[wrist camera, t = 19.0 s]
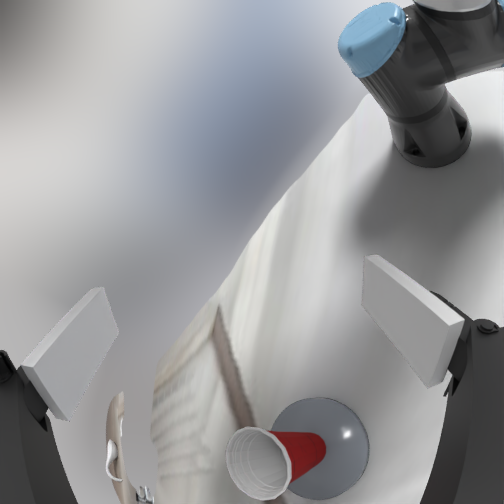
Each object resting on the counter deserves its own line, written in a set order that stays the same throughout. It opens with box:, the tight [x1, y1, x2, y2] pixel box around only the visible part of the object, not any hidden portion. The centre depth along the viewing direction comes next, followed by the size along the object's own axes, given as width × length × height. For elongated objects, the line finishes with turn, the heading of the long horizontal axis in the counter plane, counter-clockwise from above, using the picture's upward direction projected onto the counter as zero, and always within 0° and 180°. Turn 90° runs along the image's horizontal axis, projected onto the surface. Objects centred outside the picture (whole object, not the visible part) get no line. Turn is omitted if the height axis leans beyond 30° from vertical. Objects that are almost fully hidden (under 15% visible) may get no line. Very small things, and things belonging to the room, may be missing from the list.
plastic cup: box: [225, 427, 326, 501], centre depth 28 cm, size 11×11×12 cm
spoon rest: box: [106, 440, 122, 482], centre depth 86 cm, size 24×12×7 cm, turn 29°
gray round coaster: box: [271, 398, 369, 500], centre depth 32 cm, size 18×18×2 cm
